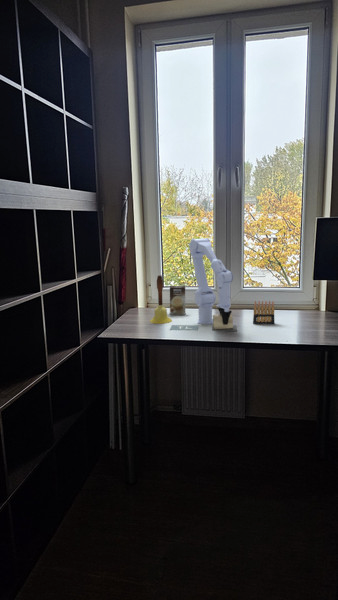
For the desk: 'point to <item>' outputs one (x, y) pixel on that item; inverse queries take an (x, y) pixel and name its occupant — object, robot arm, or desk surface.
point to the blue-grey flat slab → (184, 327)
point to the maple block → (219, 323)
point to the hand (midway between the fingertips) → (224, 323)
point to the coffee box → (177, 300)
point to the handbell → (160, 306)
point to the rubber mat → (226, 329)
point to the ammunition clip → (263, 313)
